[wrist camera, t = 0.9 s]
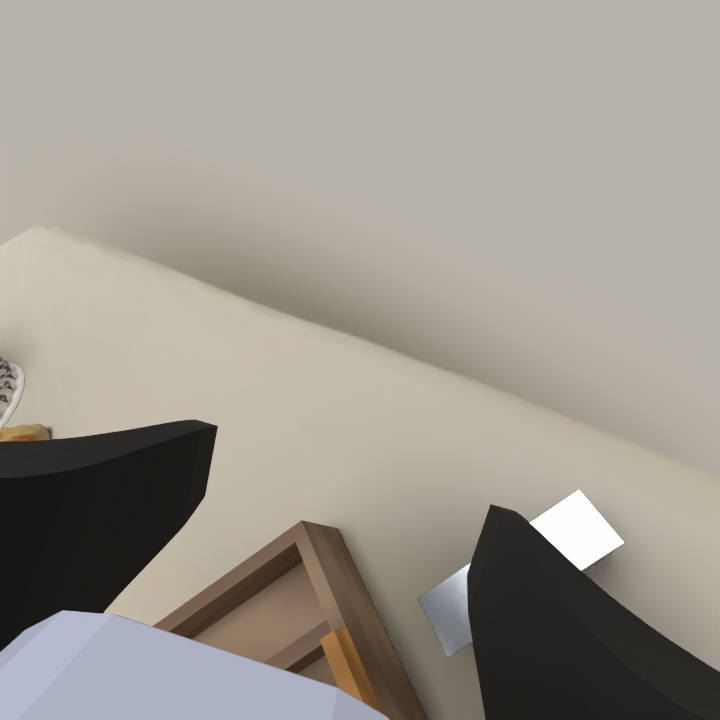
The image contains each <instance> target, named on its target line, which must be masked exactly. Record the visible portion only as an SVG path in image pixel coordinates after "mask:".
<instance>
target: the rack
mask: <svg viewBox="0 0 720 720" xmlns="http://www.w3.org/2000/svg"><path fill="white" fill-rule="evenodd" d="M152 627H155V628H158V629H161V630H164V631H167V632H170V633H174V634H177V635H180V636H183V637H186V638H189V639H192V640H195V641H198V642H201V643H204V644H207V645H210V646H213V647H216V648H219V649H222V650H225V651H228V652H231V653H234V654H238V655H241V656H244V657H247V658H250V659H253V660H256V661H259V662H262V663H265V664H268V665H271V666H274V667H277V668H280V669H283V670H286V671H289V672H292V673H295V674H298V675H302V676H305V677H308V678H311V679H314V680H317V681H320V682H323V683H326V684H329V685H332V686H335V687H338V688H340V689H341V690H343V691H345V692H346V693H348V694H350V695H352V696H353V697H355V698H357V699H358V700H360V701H362V702H363V703H365V704H367V705H369V706H370V707H372V708H374V709H375V710H377V711H379V712H380V713H382V714H383V715H385V716H386V717H388V718H389V720H427V718H426V716H425V714H424V712H423V710H422V708H421V705H420V703H419V701H418V699H417V697H416V695H415V693H414V690H413V688H412V686H411V684H410V682H409V680H408V678H407V675H406V673H405V671H404V669H403V667H402V665H401V663H400V660H399V658H398V656H397V654H396V652H395V650H394V648H393V645H392V643H391V641H390V639H389V637H388V635H387V633H386V630H385V628H384V626H383V624H382V622H381V620H380V618H379V615H378V613H377V611H376V609H375V607H374V605H373V603H372V600H371V598H370V596H369V594H368V592H367V590H366V588H365V585H364V583H363V581H362V579H361V577H360V575H359V573H358V570H357V568H356V566H355V564H354V562H353V560H352V558H351V555H350V553H349V551H348V549H347V547H346V545H345V543H344V540H343V538H342V536H341V534H340V532H339V530H338V528H333V527H329V526H324V525H320V524H315V523H311V522H306V521H302V520H301V521H300V522H299V523H297V524H296V525H294V526H293V527H292V528H290V529H289V530H287V531H286V532H285V533H283V534H282V535H280V536H279V537H278V538H276V539H275V540H273V541H272V542H271V543H269V544H268V545H266V546H265V547H264V548H262V549H261V550H259V551H258V552H257V553H255V554H254V555H252V556H251V557H249V558H248V559H247V560H245V561H244V562H242V563H241V564H240V565H238V566H237V567H235V568H234V569H233V570H231V571H230V572H228V573H227V574H226V575H224V576H223V577H221V578H220V579H219V580H217V581H216V582H214V583H213V584H212V585H210V586H209V587H207V588H206V589H205V590H203V591H202V592H200V593H199V594H197V595H196V596H195V597H193V598H192V599H190V600H189V601H188V602H186V603H185V604H183V605H182V606H181V607H179V608H178V609H176V610H175V611H174V612H172V613H171V614H169V615H168V616H167V617H165V618H164V619H162V620H161V621H160V622H158V623H157V624H155V625H154V626H152Z"/></svg>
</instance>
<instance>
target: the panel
mask: <svg viewBox="0 0 720 720" xmlns="http://www.w3.org/2000/svg"><path fill="white" fill-rule="evenodd" d="M530 524H531V525H532V526H534V527H535V528H536V529H537V530H538V531H539V532H540V533H541V534H542V535H543V536H544V537H545V538H546V539H547V540H548V541H549V542H550V543H551V544H553V545H554V546H555V547H556V548H557V549H558V550H559V551H560V552H561V553H562V554H563V555H564V556H565V557H566V558H567V559H568V560H570V561H571V562H572V563H573V564H574V565H575V566H576V567H577V568H578V569H579V570H581V571H584V570H586V569H587V568H589V567H590V566H592V565H593V564H595V563H596V562H598V561H599V560H601V559H602V558H604V557H606V556H607V555H609V554H610V553H612V552H613V551H614V550H615V549H617V548H618V547H619V546H620V545H622V544H623V543H624V542H623V541H622V540H621V539H620V537H619V536H618V535H617V534H616V533H615V531H614V530H613V529H612V528H611V527H610V526H609V524H608V523H607V522H606V521H605V520H604V518H603V517H602V516H601V515H600V514H599V513H598V511H597V510H596V509H595V508H594V507H593V506H592V504H591V503H590V502H589V501H588V500H587V498H586V497H585V496H584V495H583V494H582V493H581V491H580V490H578V491H577V492H575V493H574V494H572V495H571V496H569V497H568V498H566V499H565V500H563V501H562V502H560V503H559V504H558V505H556V506H555V507H553V508H552V509H550V510H549V511H547V512H546V513H544V514H543V515H541V516H540V517H538V518H537V519H535V520H534V521H532V522H531V523H530ZM470 564H471V563H470ZM470 564H468V565H467V566H465V567H464V568H462V569H461V570H459V571H458V572H456V573H455V574H453V575H452V576H450V577H449V578H447V579H446V580H444V581H443V582H441V583H440V584H438V585H437V586H435V587H434V588H432V589H431V590H429V591H428V592H426V593H425V594H423V595H422V596H420V597H419V598H417V599H418V601H419V603H420V605H421V607H422V609H423V611H424V613H425V614H426V616H427V618H428V620H429V622H430V624H431V626H432V628H433V630H434V632H435V633H436V635H437V637H438V639H439V641H440V643H441V645H442V647H443V649H444V651H445V652H446V654H447V656H448V657H449V656H451V655H452V654H454V653H456V652H458V651H459V650H461V649H463V648H464V647H466V646H468V645H469V644H471V643H473V641H472V635H471V629H470V623H469V616H468V601H467V573H468V570H469V567H470Z"/></svg>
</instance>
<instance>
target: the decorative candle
mask: <svg viewBox="0 0 720 720" xmlns="http://www.w3.org/2000/svg"><path fill="white" fill-rule="evenodd" d="M24 380H25V375H24V372H23V370H22V367H20V366H18V365H16V364H14V363H11V362H9V363H8V362H7V361H3V359H2V358H1V357H0V429H1V428H2V427H3V426H4V425H5V424H6V423H7V422H8V420H9V419H10V417H11V415H12V414H13V412H14V411H15V409H16V407H17V406H18V403H19V400H20V398H21V395H22V393H23V390H24Z"/></svg>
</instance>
